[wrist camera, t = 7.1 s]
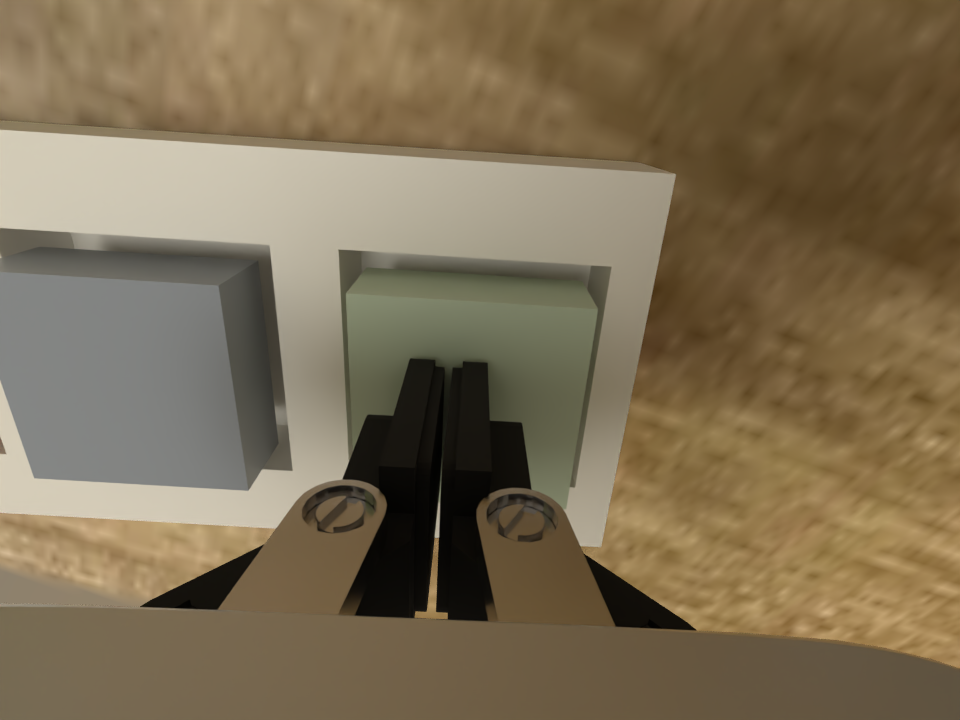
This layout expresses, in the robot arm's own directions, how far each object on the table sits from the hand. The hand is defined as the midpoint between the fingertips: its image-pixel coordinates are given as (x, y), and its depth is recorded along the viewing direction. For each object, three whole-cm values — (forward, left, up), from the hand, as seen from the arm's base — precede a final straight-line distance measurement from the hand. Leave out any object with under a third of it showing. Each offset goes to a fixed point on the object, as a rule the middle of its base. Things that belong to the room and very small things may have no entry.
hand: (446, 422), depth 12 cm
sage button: (0, 0, -2) cm, 2 cm away
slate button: (+7, 0, -2) cm, 7 cm away
